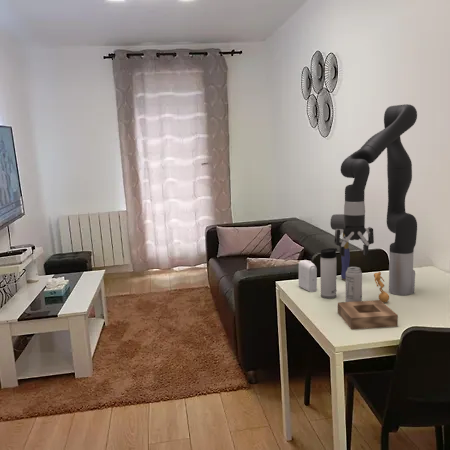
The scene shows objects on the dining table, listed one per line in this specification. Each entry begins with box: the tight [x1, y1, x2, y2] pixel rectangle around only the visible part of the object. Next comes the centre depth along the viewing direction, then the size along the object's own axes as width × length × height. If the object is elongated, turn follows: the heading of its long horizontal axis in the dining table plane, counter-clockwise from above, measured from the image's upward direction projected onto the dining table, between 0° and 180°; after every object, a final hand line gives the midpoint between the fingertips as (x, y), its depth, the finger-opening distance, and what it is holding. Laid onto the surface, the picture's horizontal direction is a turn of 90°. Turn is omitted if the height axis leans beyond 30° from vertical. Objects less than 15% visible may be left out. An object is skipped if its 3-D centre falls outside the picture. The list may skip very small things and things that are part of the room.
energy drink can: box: [345, 266, 363, 302], centre depth 188 cm, size 6×6×15 cm
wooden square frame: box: [337, 299, 399, 330], centre depth 175 cm, size 16×16×4 cm
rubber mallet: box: [329, 213, 351, 281], centre depth 221 cm, size 12×8×30 cm, turn 60°
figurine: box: [373, 271, 390, 303], centre depth 192 cm, size 8×6×12 cm
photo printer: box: [298, 259, 318, 293], centre depth 212 cm, size 10×4×12 cm, turn 21°
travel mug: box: [320, 247, 338, 300], centre depth 200 cm, size 6×7×20 cm
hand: (353, 255), depth 186 cm, fingers open, 8 cm apart
